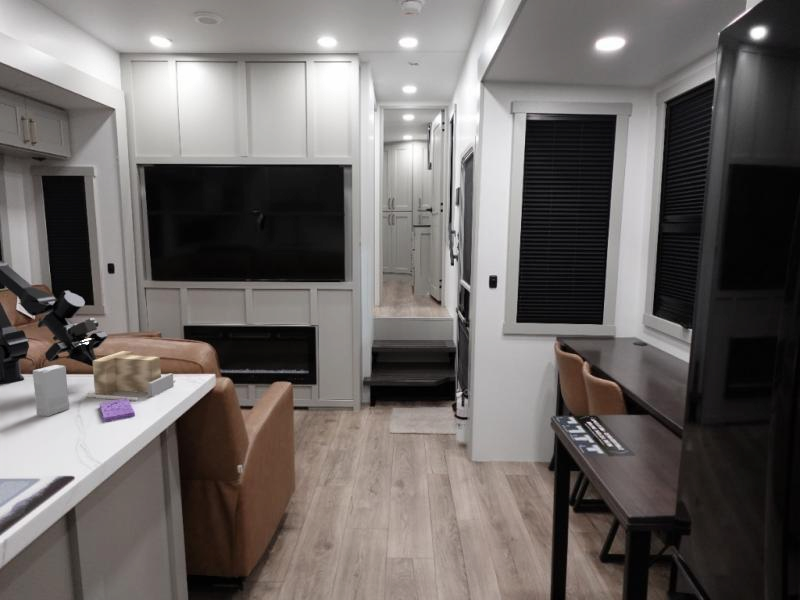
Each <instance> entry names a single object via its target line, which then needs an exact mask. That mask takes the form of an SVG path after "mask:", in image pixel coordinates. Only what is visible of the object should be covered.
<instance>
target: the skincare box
mask: <svg viewBox="0 0 800 600" xmlns="http://www.w3.org/2000/svg"><path fill="white" fill-rule="evenodd" d="M32 378H33V379H32V380H33V390H34V398H35V408H36V414H37V415H39V416H42V415H43V417H50V416H53V415H55V414H57V413H58V412H59V413H61V412H64V411H66V410H70V399H69V389H68V378H67V369H66V366H65V365H62V364H61V365H60V364H53V365H49V366H46V367H42V368H38V369H33V370H32Z"/></svg>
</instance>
